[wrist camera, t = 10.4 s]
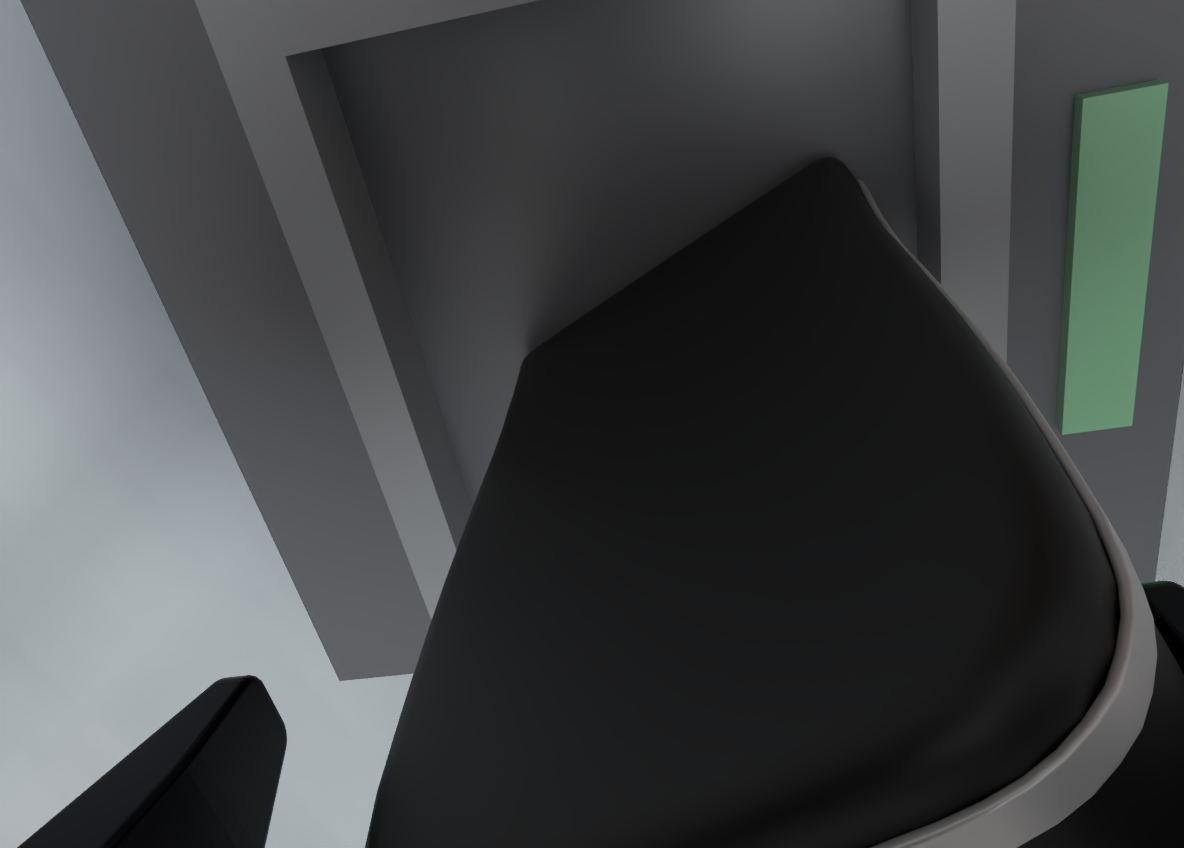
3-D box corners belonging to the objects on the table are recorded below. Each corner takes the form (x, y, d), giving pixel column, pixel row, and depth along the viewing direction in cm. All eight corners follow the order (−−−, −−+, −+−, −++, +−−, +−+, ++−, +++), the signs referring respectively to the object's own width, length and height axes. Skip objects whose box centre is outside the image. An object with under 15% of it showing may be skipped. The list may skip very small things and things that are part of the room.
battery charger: (627, 497, 18) (574, 1205, 8) (507, 358, 17) (275, 1006, 7) (952, 313, 16) (1426, 1011, 6) (842, 131, 14) (1222, 642, 4)
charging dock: (1230, -291, 12) (1352, -332, 10) (1131, 567, 19) (1189, 650, 17) (56, -6, 15) (-44, 10, 13) (352, 650, 22) (318, 731, 20)
